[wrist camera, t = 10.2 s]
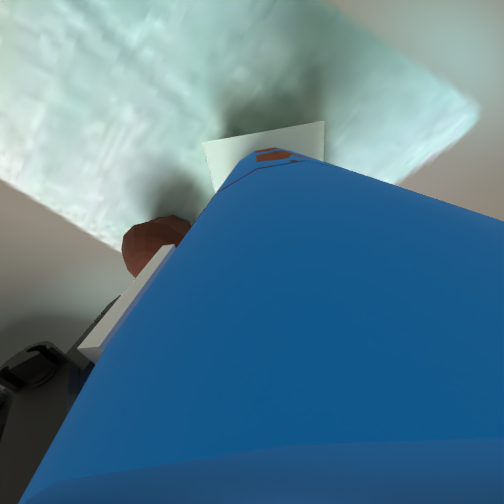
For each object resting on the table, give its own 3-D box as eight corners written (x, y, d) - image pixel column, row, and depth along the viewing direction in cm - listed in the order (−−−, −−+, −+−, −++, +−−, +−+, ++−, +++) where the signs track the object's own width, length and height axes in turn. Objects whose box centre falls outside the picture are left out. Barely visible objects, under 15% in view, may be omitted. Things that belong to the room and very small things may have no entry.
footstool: (212, 142, 27) (202, 142, 22) (310, 124, 26) (324, 120, 21) (232, 230, 34) (228, 246, 29) (310, 219, 33) (320, 234, 28)
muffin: (150, 196, 31) (111, 216, 23) (213, 223, 34) (199, 252, 25) (139, 251, 37) (103, 284, 28) (193, 271, 39) (176, 308, 30)
